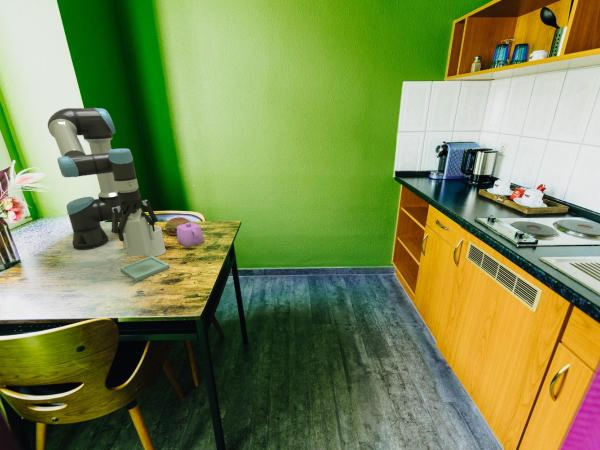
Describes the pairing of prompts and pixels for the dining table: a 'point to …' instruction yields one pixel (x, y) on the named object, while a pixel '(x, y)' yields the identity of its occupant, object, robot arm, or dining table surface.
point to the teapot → (189, 234)
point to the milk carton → (138, 235)
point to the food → (175, 225)
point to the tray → (144, 268)
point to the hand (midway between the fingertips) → (139, 243)
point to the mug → (157, 243)
